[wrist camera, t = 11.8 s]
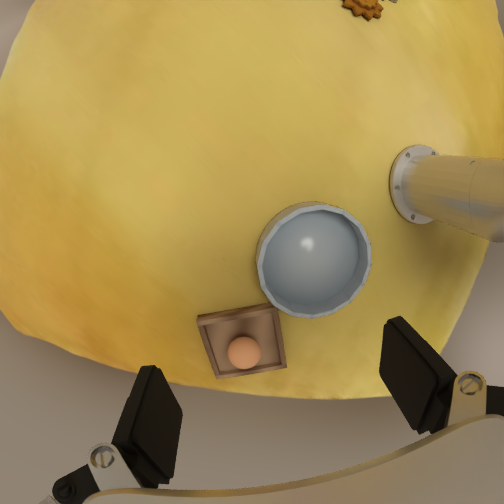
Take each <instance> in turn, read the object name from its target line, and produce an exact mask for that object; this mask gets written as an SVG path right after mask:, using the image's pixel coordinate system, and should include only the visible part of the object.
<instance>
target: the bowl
mask: <svg viewBox="0 0 504 504" xmlns="http://www.w3.org/2000/svg"><path fill="white" fill-rule="evenodd" d="M255 260H256V265H257V270H258V275H259V281H260V286H261V289H262V290H263V292H264V293H265V294H266V296H267V297H268V299H269V300H270V301H271V303H272V304H273V306H275V307H277V308H279V309H280V310H282V311H284V312H285V313H287V314H289V315H291V316H295V317H303V318H311V319H313V318H317V317H321V316H326V315H330V314H333V313H335V312H336V311H338V310H340V309H341V308H343V307H344V306H346V305H347V304H349V303H350V302H351V301H352V300H353V299H354V298H355V297H356V295H357V294H358V293H359V291H360V290H361V289H362V288H363V286H364V285H365V282H366V280H367V277H368V274H369V271H370V268H371V265H372V261H371V243H370V240H369V238H368V236H367V234H366V232H365V230H364V228H363V226H362V224H361V223H360V222H359V221H357V220H356V219H355V218H354V217H353V216H352V215H350V214H349V213H348V212H347V211H345V210H344V209H341V208H339V207H336V206H332V205H329V204H326V203H321V202H317V201H315V202H302V203H298V204H295V205H292V206H290V207H288V208H286V209H284V210H282V211H281V212H280V213H278V214H277V215H276V216H275V217H274V218H273V219H272V220H271V221H270V222H269V223H268V224H267V226H266V227H265V229H264V230H263V232H262V234H261V236H260V239H259V242H258V245H257V251H256V258H255Z"/></svg>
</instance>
